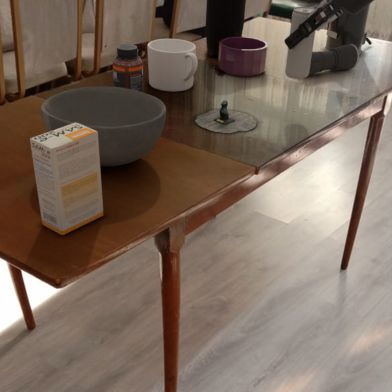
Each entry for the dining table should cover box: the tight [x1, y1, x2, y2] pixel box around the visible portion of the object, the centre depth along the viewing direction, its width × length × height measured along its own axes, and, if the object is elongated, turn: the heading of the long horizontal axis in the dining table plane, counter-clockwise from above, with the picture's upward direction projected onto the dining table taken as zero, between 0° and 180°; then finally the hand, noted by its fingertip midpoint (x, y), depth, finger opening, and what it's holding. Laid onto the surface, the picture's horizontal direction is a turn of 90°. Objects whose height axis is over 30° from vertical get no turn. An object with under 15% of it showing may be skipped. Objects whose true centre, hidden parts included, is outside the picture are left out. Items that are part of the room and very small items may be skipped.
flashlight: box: [307, 44, 360, 77], centre depth 150 cm, size 15×5×5 cm, turn 121°
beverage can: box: [285, 6, 316, 80], centre depth 122 cm, size 5×5×12 cm
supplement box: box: [29, 123, 104, 236], centre depth 88 cm, size 8×5×13 cm, turn 139°
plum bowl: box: [217, 36, 269, 78], centre depth 148 cm, size 11×11×6 cm
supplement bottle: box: [112, 43, 144, 93], centre depth 125 cm, size 6×6×11 cm
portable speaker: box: [204, 0, 247, 58], centre depth 152 cm, size 9×9×20 cm
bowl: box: [40, 85, 167, 167], centre depth 105 cm, size 20×20×10 cm
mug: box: [146, 38, 199, 93], centre depth 136 cm, size 13×10×8 cm
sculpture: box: [194, 100, 258, 134], centre depth 124 cm, size 12×9×8 cm
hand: (292, 41), depth 123 cm, fingers closed on beverage can, 4 cm apart
